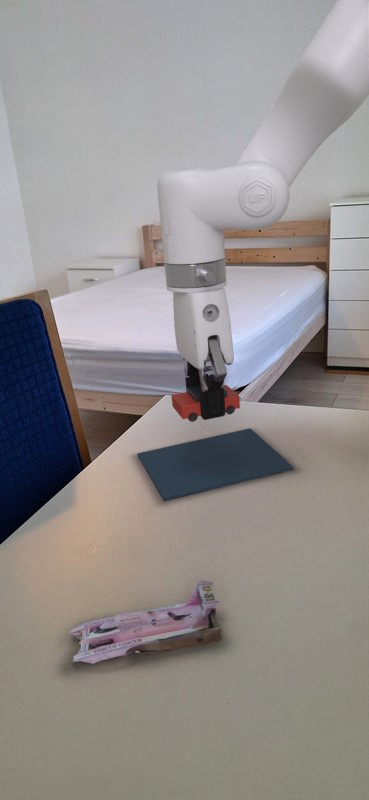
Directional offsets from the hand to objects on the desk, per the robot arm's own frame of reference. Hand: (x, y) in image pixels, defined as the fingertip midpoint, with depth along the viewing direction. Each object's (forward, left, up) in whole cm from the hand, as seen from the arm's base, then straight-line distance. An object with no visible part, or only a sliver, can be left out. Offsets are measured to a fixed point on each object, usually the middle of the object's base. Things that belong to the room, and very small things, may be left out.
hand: (205, 408), depth 81 cm
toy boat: (+17, +29, -8) cm, 35 cm away
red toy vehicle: (0, +3, +1) cm, 3 cm away
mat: (0, 0, -8) cm, 8 cm away
